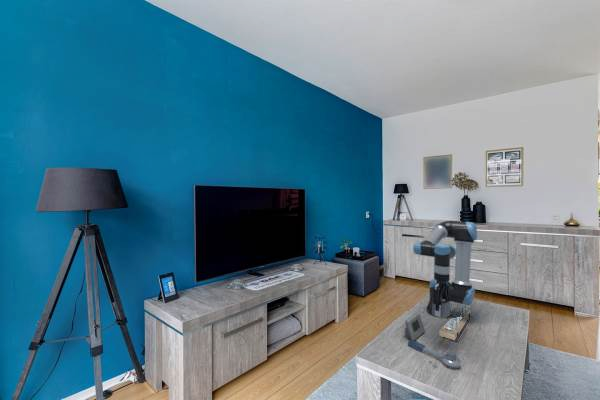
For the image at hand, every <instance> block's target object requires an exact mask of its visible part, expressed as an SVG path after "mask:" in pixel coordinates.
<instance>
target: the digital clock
mask: <svg viewBox="0 0 600 400" xmlns="http://www.w3.org/2000/svg"><path fill="white" fill-rule="evenodd" d="M404 323H405V328H404V336H407V337H409V339H410V340H411V339H412V340H414V341H416V340H417V338H418V337H420V336H421V335H422V334H424V332H425V331H426V330H425V328H424V323H423V321H422V318H421V315H420V313H418V312H417V313H414V314H412V315H411V316H410V317H409V318H407V319H406V320H405V322H404Z"/></svg>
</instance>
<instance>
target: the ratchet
mask: <svg viewBox="0 0 600 400" xmlns="http://www.w3.org/2000/svg"><path fill="white" fill-rule="evenodd" d="M407 346H408V347H409V348H412V349H414V350H415V351H418V352H420V353H423V354H426V355H428V356H430V357H431V358H433V359H435V360H438V361H440V362H441V363H442V365H443V366H444V367H446V368H447V369H451V370H460V369H461V359H460V358H458V357H457V353H456V352H454V351H451V350H448V351H446V353H445V354H442V353H440V352H437V351H436V350H434V349H431V348H429V347H427V346H426V345H425V344H423V343H421V342H419V341H417V340H412V339H410V340H408V341H407Z"/></svg>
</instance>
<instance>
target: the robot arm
mask: <svg viewBox="0 0 600 400" xmlns="http://www.w3.org/2000/svg"><path fill="white" fill-rule="evenodd" d="M446 238H451V239H453V242H455V244H456V245H455V246H453V245H451V244H446V243H445V244H444V243H440V242H441V241H442V240H444V239H446ZM475 241H478V230H477V225H476V224H475V223H474V222H471V221H461V220H460V221H459V220H445V221H442V222H439V223H438V224H436V225H435V226H434V227H433V228H432V231H431V232H430V233H429V234H428V236H426V238H424V239H423V241H421V242H420V241H419V242H418V241H416V242H414V244H413V249H412V250H413V253H414V254H415V255H418V256H424V257H432V258H434V264H433V268H434V269H433V270H434V273H433V274H434V275H433V279H431V280H430V281H429V301H428V303H427V306H426V313H428V314H429V315H431V316H433V317H437V318H441V305H440V301H441V298H445V300H449V301H450V302H453V303H457V304H460V305H465V306H471V305H472V304H473V301H474V298H475V294H476V293H475V292H476V289H475V288H474V287H473V284H472V283H471V281H470V279H471V278H470V277H471V276H470V275H471V274H470V273H471V260H472V259H471V257H472V256H471V255H472V245H474V243H475ZM453 258H455V265H454V279H453V280H452V281H451V283H450V280H451V279H450V275H451V274H450V273H451V270H450V269H451V259H453ZM432 300H433V304H435V315H433V314H432ZM450 314H451V315H452V311H451V310H450Z"/></svg>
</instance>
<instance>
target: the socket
mask: <svg viewBox="0 0 600 400" xmlns="http://www.w3.org/2000/svg"><path fill="white" fill-rule="evenodd" d="M440 305H441V317H440V318H442V319H444V320H445V319H446V318H449V317H448V316H450V311H451V301H449V300H445V298H441V301H440ZM432 314H433V315H435V304H433V300H432ZM433 315H432V316H433ZM450 317H451V316H450Z"/></svg>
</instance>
